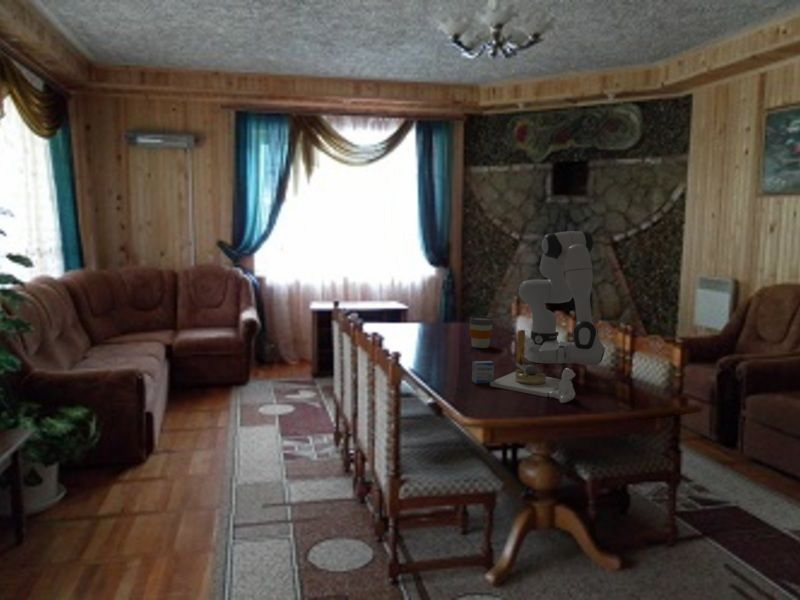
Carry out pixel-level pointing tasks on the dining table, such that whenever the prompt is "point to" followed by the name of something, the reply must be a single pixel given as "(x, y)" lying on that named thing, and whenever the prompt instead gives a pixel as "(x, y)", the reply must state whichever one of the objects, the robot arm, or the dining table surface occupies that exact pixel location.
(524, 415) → the dining table surface
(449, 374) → the dining table surface
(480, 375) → the medicine box
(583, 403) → the dining table surface
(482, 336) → the reusable coffee cup
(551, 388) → the white rectangular board
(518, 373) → the brass disc with post
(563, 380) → the seated beast figurine
